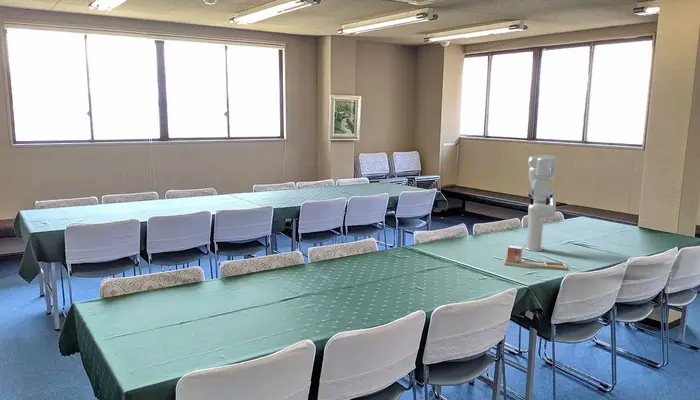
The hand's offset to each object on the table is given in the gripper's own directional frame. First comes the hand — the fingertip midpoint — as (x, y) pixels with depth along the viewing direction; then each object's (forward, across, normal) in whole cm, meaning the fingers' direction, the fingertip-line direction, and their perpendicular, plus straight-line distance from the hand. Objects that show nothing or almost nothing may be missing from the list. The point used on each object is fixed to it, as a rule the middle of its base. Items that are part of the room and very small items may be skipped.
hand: (539, 204), depth 330 cm
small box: (+36, +17, +11) cm, 41 cm away
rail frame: (+36, +5, +13) cm, 38 cm away
